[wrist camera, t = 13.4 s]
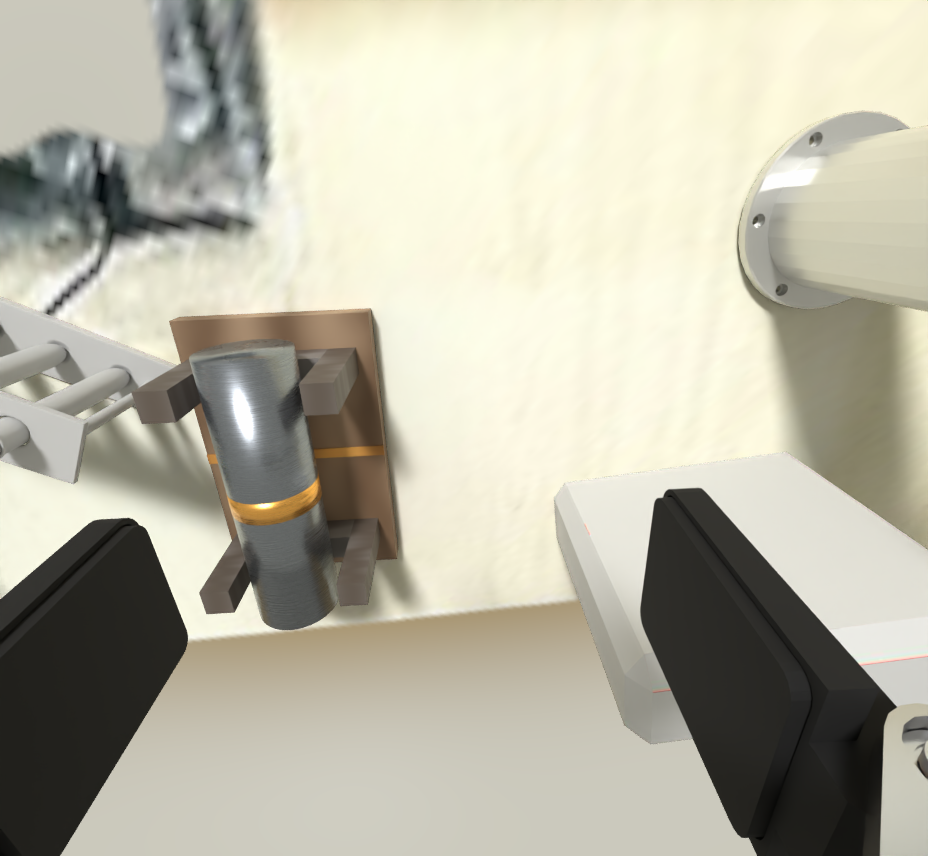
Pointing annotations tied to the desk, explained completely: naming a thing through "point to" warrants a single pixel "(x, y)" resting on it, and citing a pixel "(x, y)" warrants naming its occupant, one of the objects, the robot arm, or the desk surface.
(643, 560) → the bevelled white case
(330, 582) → the grey cylinder
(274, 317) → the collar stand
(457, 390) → the desk surface
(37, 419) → the test tube rack
